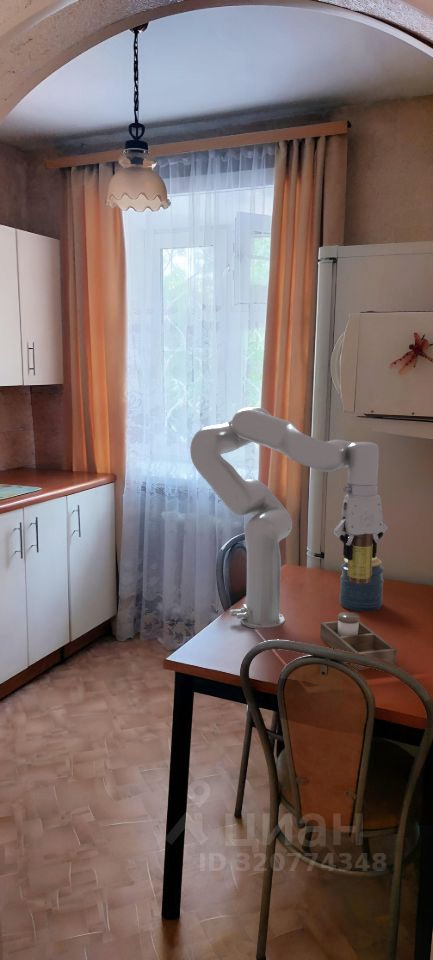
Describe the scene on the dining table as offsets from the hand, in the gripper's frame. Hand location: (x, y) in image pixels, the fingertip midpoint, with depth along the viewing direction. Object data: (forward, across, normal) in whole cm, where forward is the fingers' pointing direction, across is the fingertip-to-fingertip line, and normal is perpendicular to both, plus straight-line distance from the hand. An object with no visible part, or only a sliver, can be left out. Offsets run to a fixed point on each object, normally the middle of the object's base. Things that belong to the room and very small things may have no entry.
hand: (359, 557), depth 173 cm
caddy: (+23, -5, -8) cm, 24 cm away
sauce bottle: (+7, 0, 0) cm, 7 cm away
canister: (+23, +15, +23) cm, 36 cm away
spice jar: (+22, -4, -3) cm, 23 cm away
